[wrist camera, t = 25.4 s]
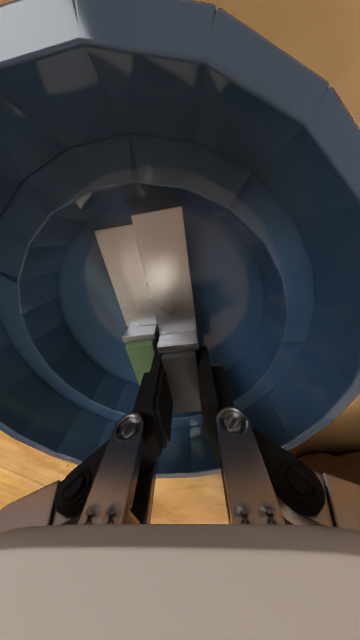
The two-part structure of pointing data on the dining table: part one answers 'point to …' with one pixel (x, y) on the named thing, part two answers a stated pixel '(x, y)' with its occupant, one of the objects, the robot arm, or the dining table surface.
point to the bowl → (198, 212)
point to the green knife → (131, 294)
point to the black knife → (171, 300)
